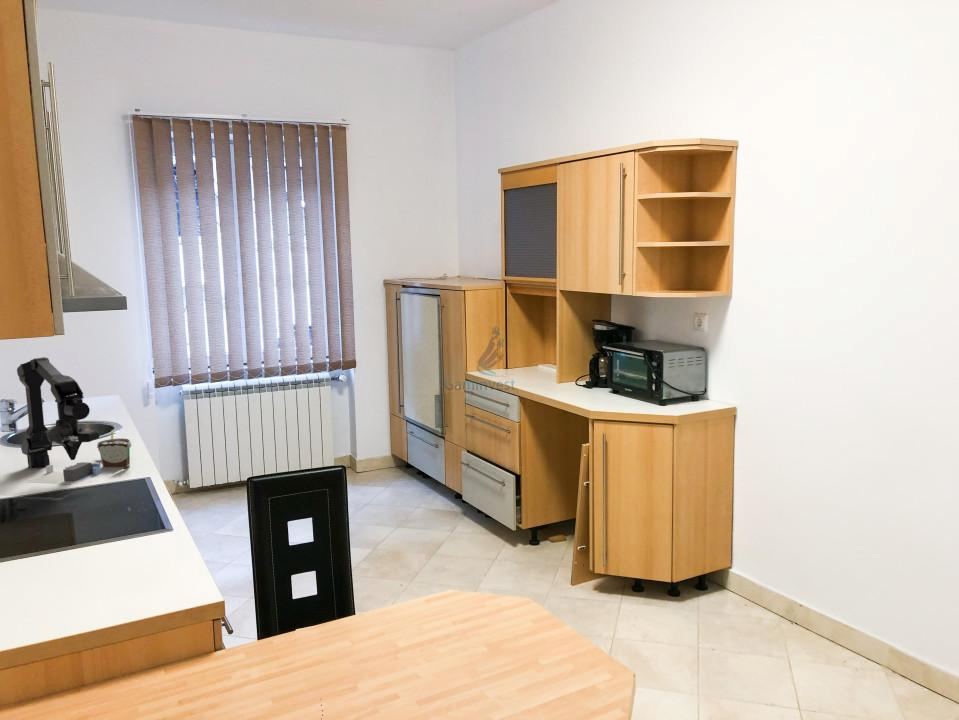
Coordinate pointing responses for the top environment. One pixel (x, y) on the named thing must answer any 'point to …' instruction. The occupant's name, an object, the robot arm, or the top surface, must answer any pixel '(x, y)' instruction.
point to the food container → (115, 452)
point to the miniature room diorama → (59, 476)
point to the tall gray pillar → (77, 471)
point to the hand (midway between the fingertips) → (72, 459)
